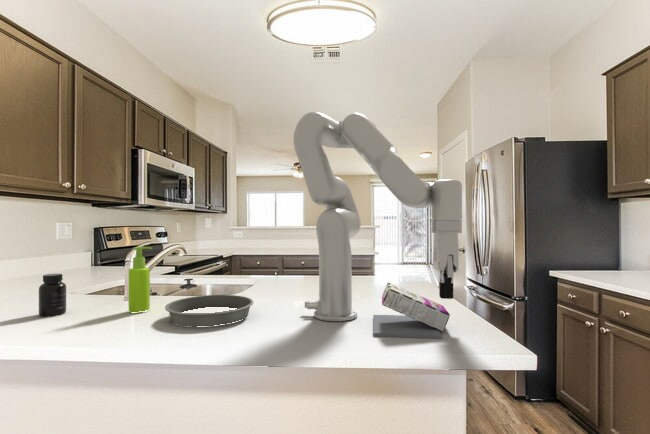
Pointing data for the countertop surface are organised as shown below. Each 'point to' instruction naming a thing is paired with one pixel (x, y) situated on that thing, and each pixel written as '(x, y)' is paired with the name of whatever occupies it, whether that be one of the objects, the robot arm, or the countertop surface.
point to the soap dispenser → (139, 283)
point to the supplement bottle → (52, 296)
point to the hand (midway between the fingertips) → (446, 297)
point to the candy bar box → (415, 306)
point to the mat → (402, 327)
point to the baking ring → (209, 318)
